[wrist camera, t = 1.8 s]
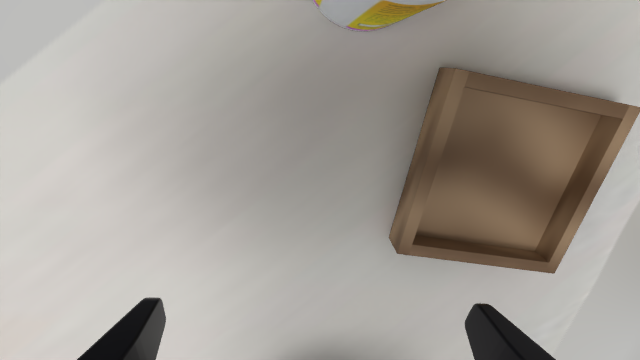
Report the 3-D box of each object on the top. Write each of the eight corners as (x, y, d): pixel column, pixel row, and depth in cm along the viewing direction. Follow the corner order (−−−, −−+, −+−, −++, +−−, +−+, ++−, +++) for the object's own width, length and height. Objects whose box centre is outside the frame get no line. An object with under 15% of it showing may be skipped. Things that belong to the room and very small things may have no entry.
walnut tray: (534, 256, 24) (554, 273, 22) (388, 237, 22) (397, 253, 20) (609, 103, 20) (641, 107, 18) (439, 67, 18) (455, 68, 17)
